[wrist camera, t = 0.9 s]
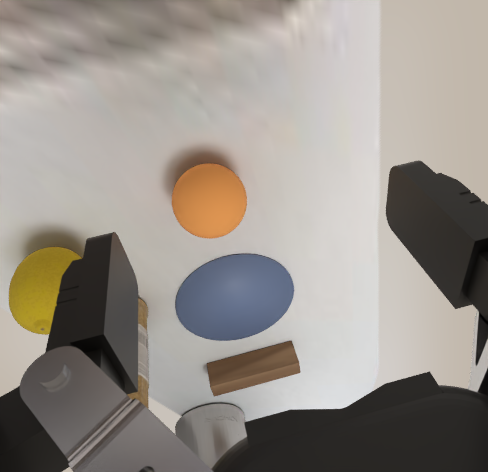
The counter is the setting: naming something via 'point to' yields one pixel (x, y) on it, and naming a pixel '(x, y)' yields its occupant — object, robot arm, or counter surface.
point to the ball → (209, 200)
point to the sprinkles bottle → (142, 356)
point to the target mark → (234, 297)
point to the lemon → (38, 287)
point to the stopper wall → (253, 368)
